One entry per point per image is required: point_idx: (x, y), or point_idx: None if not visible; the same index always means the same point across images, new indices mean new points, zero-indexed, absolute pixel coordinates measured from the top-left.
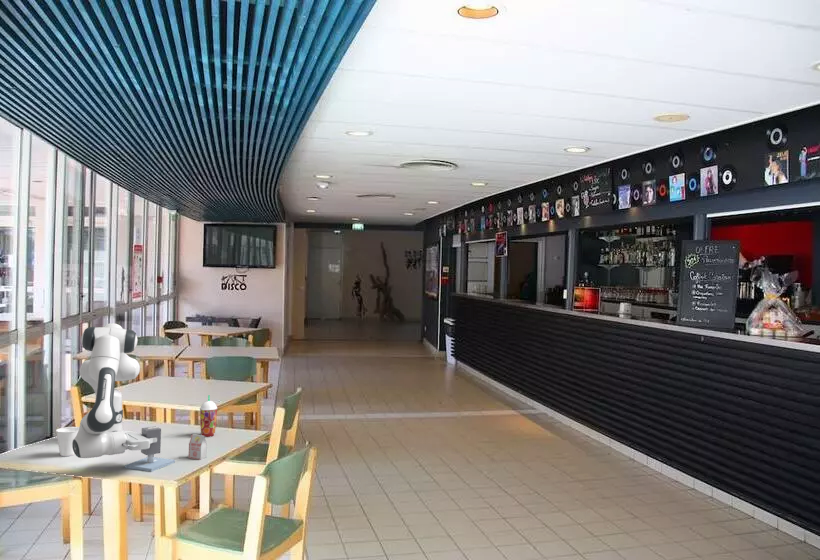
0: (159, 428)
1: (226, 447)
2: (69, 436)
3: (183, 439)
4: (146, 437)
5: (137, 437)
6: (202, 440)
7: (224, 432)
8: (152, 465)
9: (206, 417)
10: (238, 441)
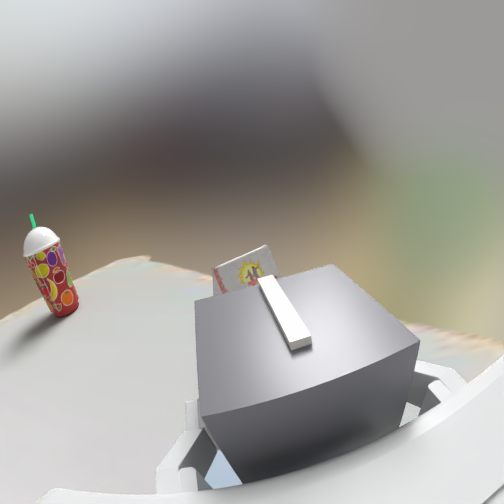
0: (314, 272)
1: (187, 287)
2: None
3: (45, 346)
4: (405, 403)
5: (484, 464)
6: (273, 263)
7: (76, 290)
8: None
9: (54, 266)
10: (156, 275)
